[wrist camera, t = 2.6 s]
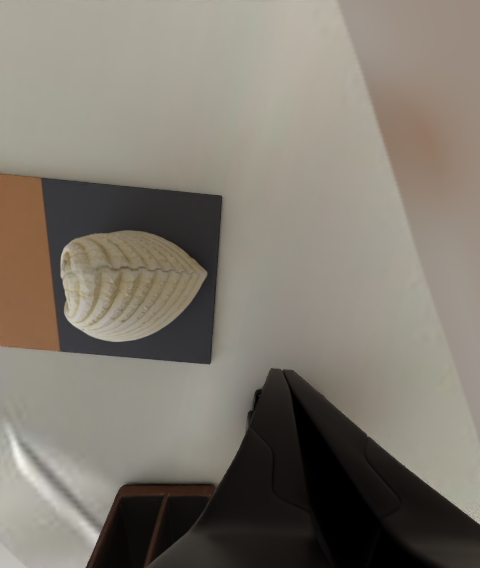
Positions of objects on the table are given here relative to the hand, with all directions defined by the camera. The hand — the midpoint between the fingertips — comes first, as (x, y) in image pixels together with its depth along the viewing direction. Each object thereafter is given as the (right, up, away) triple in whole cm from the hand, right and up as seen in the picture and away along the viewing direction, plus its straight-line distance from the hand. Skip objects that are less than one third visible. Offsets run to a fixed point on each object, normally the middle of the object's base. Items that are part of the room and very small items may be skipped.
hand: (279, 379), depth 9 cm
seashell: (-9, +4, +10) cm, 15 cm away
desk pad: (-14, +4, +11) cm, 18 cm away
